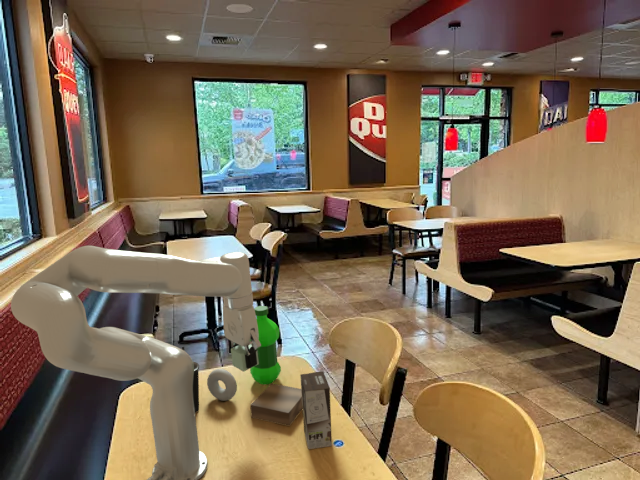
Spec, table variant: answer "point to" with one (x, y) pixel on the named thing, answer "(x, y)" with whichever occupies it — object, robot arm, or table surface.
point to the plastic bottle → (266, 349)
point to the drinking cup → (195, 386)
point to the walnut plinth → (278, 404)
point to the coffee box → (316, 409)
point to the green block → (240, 357)
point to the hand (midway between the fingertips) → (245, 362)
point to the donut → (215, 387)
